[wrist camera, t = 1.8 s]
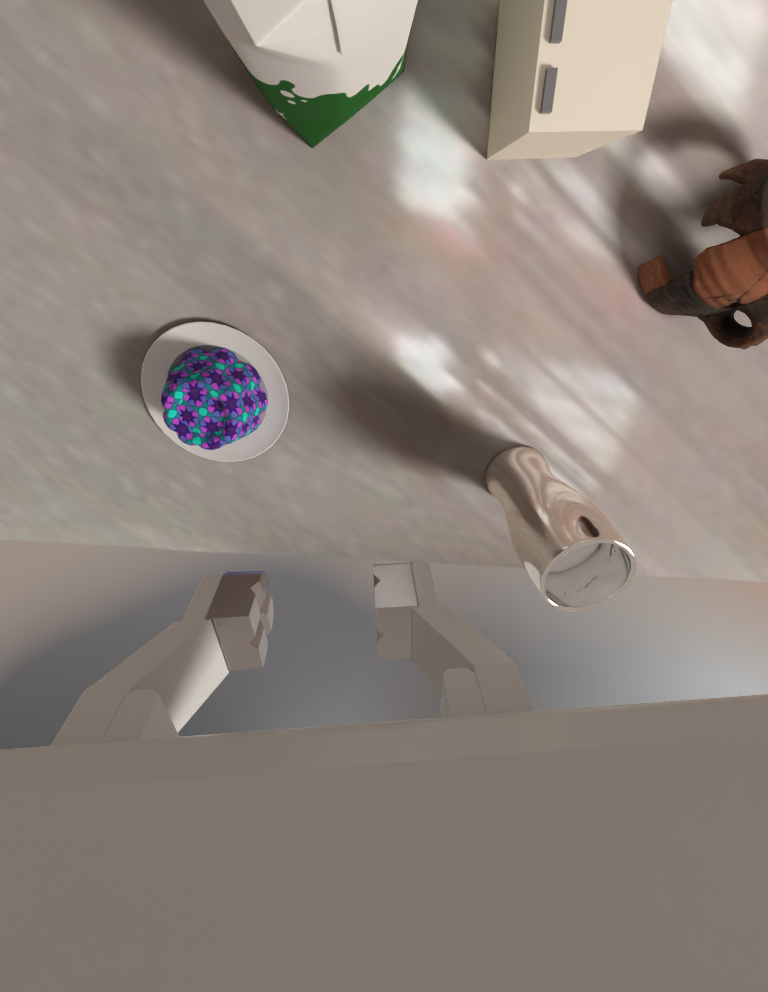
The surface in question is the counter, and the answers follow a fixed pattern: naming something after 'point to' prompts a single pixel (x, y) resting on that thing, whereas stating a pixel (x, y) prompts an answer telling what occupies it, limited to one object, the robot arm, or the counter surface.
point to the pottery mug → (724, 265)
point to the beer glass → (559, 533)
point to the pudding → (214, 392)
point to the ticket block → (572, 74)
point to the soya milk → (318, 54)
